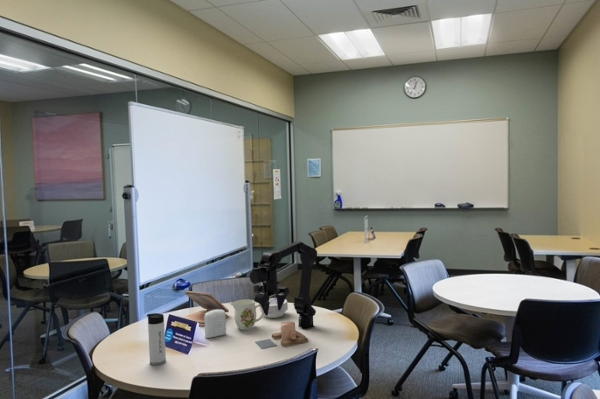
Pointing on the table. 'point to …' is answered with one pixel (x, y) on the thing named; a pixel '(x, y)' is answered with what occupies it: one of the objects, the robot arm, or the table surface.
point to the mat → (265, 343)
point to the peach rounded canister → (288, 330)
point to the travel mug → (156, 338)
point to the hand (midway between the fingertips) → (273, 312)
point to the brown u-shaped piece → (299, 339)
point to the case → (204, 306)
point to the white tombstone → (215, 323)
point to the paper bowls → (275, 308)
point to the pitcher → (245, 313)
